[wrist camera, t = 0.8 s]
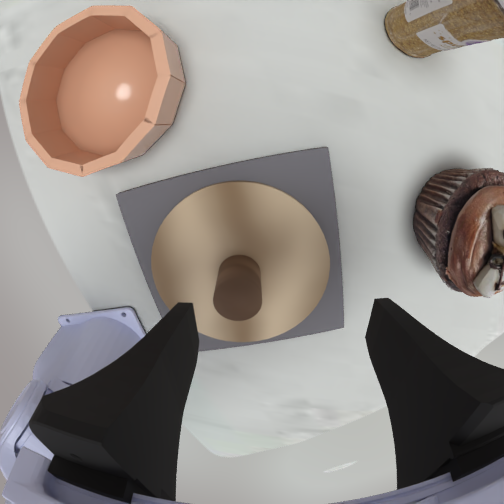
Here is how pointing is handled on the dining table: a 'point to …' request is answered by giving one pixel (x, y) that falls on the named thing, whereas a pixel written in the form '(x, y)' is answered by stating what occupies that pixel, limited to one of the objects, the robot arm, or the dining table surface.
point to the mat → (257, 170)
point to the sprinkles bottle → (443, 24)
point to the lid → (241, 260)
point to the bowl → (100, 90)
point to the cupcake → (464, 229)
